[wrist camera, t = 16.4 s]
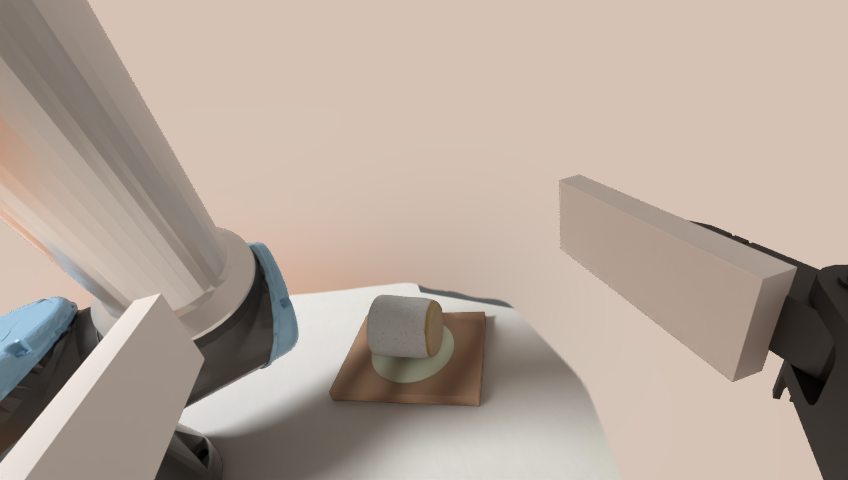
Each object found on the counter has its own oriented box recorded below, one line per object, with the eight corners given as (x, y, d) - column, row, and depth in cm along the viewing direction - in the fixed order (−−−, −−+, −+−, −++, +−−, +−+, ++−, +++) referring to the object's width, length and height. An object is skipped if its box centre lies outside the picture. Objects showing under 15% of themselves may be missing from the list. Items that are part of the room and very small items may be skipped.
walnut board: (333, 399, 45) (328, 390, 44) (369, 322, 57) (366, 313, 56) (479, 406, 40) (477, 395, 39) (485, 319, 52) (484, 310, 51)
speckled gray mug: (437, 372, 43) (425, 321, 40) (374, 368, 45) (358, 321, 42) (452, 314, 52) (444, 268, 49) (399, 313, 54) (387, 270, 51)
